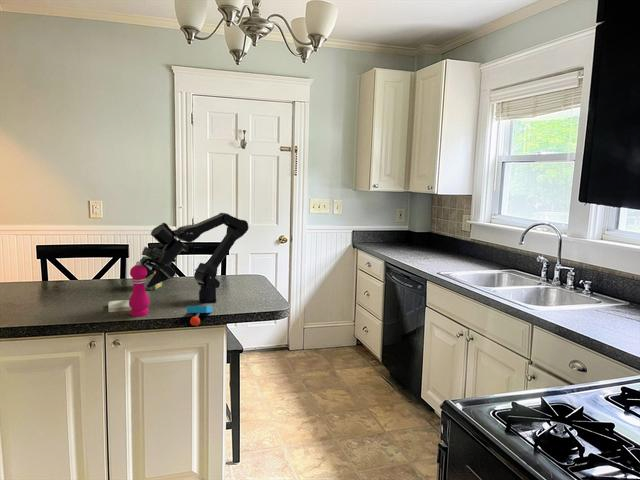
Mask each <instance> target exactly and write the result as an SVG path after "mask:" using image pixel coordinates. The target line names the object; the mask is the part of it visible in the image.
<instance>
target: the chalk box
mask: <svg viewBox="0 0 640 480" xmlns="http://www.w3.org/2000/svg"><path fill="white" fill-rule="evenodd" d="M143 257H148V256H145V255H142V258H143ZM142 258H141V259H142ZM148 258H151V257H148ZM134 266H137V265H136V264H134ZM152 272H153V271H152ZM154 275H155V271H154V273H153V274H152V275H150V276H149V277H147V278H146V282H145V291H156V290H158V289H159V288H161V287H163V282H160V283H158V284H156V285H154V286H152V287H150V288H148V287H147V285H148V283H149V282H150V280H151V279H152V277H153V276H154Z"/></svg>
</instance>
